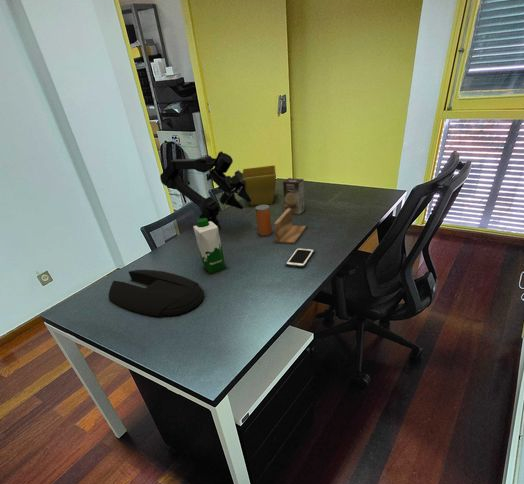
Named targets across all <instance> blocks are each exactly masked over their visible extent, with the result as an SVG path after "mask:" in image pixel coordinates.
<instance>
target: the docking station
mask: <svg viewBox="0 0 524 484" xmlns="http://www.w3.org/2000/svg"><path fill="white" fill-rule="evenodd" d="M128 275H129V277H130V280H131V281H132V282H136V283H140V284H143V285H147V286H146V287H142V286H139V285H135V284H132V283H128V282H125V281H121V280H120V281H119V280H113V281H112V282H111V285H110V287H109V290H108V300H109V301H110V302H112V303H113V304H115V305H117V306H118V307H121V308H123V309H126V310H127V311H130V312H134V313H137V314H141V315H145V316H151V317H157V318H162V317H165V316H166V317H167V316H168V317H169V316H178V315H181V314H185V313H188V312H189V311H192V310H194V309H195V308H197V307H198V306H199V305H200V304H201V303H202V302H203V300H204V298H205V291H204V289H203V288H202V287H201V286H200V284H199V283H198V282H197V281H194V280H193V279H190V278H187V277H184V276H182V275H179V274H175V273H172V272H167V271H164V270H163V271H162V270H154V269H134V270H130V271H128Z"/></svg>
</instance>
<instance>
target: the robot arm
mask: <svg viewBox="0 0 524 484" xmlns="http://www.w3.org/2000/svg"><path fill="white" fill-rule="evenodd" d="M233 162H234V160H233V158H232V156H231V155H229V154H227V153H226V152H223V151H222V150H221V151H219V152H218V153H217V156H216V158H215V157H212V156H211V155H204V156H201V157H198V158H180V159H179V158H174V159H172V160H170V161H169V162H167V165H166V167H165V168H164V170H163V171H162V173H161V174H160V176H159V179H160V182H161V184H163V186H165V187H167V188H168V189H173V190H176V191H177V192H179V193H180V194H181V195H183V196H184V197H186V198H187V199H188V200H190V201H191V202H192V203H193V204H195V205H196V206H198V208H199V210H200V212H201V213H200V215H199V219H201V218H207V219H208V222H210V221H211V222H213V223H214V224H215V225H216V226H217V227H218V230H219V229H220V227H221V226H220V221H219V219H218V217H217V216H218V215H219V212H220V206H219V203H220V204H221V205H226V206H231V207H234V208H236V209H239V210H243V209H244V207H243V205H242V204H241V202H240V201H239V200H238V199H237V198H236V195H237V196H238V197H240V198H241V199H243V200H245V201H247V202H248V203H250V202H251V199H250V197H249V195H248V193H247V191H246V182H245V181H244V180H242V179H243V177H242V176H243V173H242V171H241V170H239V169H238V170H235V171H234V175H232V176H230V175H226V173H228V170H229V169H230V168H231V166H232V164H233ZM180 170H193V171H194V170H195V171H197V172H199V173H207V172H208V173H207V174H205V176H206V182H209V181H210V180H212V181H213V182H214V183H215V184H216V185H217V186H218V187H217V189H218V190H222V191H223V193H222V195H221V196H220V197H219V203H218V202H217V200H215V199H214V198H213V197H211V196H208V197H204V196H203V195H201V194H200V193H198V192H197V191H196V190H194V189H193V188H192V187H190V186H189V185H188V184H186V183H185V182H184V181H182V178H181V175H179V174H180Z"/></svg>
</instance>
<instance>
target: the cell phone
mask: <svg viewBox="0 0 524 484" xmlns="http://www.w3.org/2000/svg"><path fill="white" fill-rule="evenodd" d="M314 253H315V249H313V248H304V247H297V248H296V249H295V250H294V251H293V253H292V254H291V256H290V257H289V258H288V260H287V261H286V263H285V266H287V267H291V268H292V267H295V268H305V266H306V265H307V264H308V262H309V260H310V259H311V257H312V256H313V254H314Z"/></svg>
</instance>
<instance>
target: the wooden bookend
mask: <svg viewBox="0 0 524 484" xmlns="http://www.w3.org/2000/svg"><path fill="white" fill-rule="evenodd" d="M273 225H274V226H273V227H274V236H275V237H274V238H275V243H279V244H292V245H295V244H296V243H297V241H298V240H299V239H300V237H301V235H302V234H303V233H304V231H306V229H307V226H306V225H296V224H295V225H294V224H293V214H292V211H291V209H289V208H287V210H286V211H285V210H284V211H283V213H282V214H281V215H280V216H279V217H278V218H277V220H275V222H274V223H273Z"/></svg>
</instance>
